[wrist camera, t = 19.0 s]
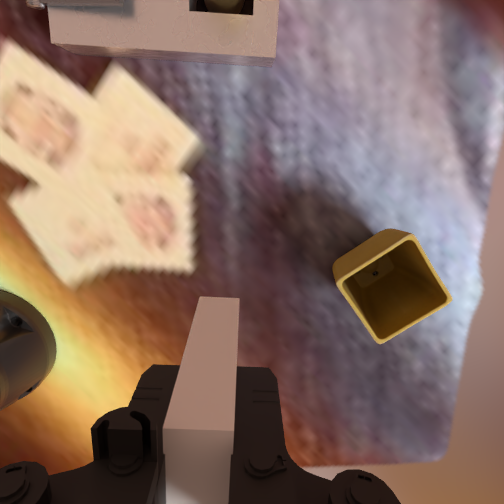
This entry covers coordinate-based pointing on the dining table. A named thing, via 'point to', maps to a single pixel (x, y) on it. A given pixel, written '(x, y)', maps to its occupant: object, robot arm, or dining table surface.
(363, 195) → the dining table surface
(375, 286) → the flower pot
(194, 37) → the block
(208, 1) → the lynch pin
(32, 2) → the ring flap
